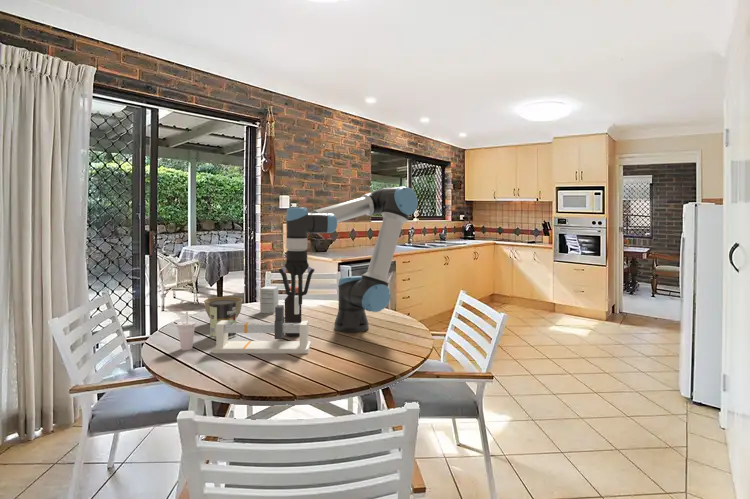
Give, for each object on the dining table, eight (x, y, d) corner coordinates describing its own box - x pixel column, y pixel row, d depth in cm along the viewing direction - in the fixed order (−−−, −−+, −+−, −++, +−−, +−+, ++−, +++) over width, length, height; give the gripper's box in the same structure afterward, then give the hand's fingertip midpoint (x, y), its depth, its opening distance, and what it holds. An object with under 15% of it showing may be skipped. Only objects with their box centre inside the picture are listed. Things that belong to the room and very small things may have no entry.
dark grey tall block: (284, 334, 162) (284, 304, 161) (281, 339, 155) (281, 308, 154) (278, 334, 162) (277, 304, 161) (274, 339, 155) (274, 308, 154)
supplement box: (265, 309, 223) (264, 285, 222) (278, 310, 222) (278, 286, 221) (259, 313, 215) (259, 288, 214) (274, 313, 215) (273, 288, 214)
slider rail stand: (311, 345, 164) (311, 319, 163) (307, 353, 154) (307, 326, 154) (221, 344, 163) (221, 318, 162) (212, 353, 153) (211, 325, 152)
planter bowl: (235, 328, 186) (235, 303, 186) (198, 327, 187) (198, 303, 186) (247, 319, 203) (247, 296, 202) (213, 318, 203) (213, 296, 202)
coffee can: (241, 333, 179) (240, 300, 178) (228, 340, 169) (227, 305, 168) (219, 331, 181) (218, 298, 180) (204, 338, 171) (204, 303, 170)
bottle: (281, 334, 178) (281, 287, 176) (294, 331, 183) (294, 285, 181) (291, 338, 173) (291, 289, 172) (304, 334, 178) (304, 287, 176)
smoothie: (184, 352, 153) (183, 314, 152) (173, 349, 157) (172, 311, 156) (199, 348, 159) (199, 310, 158) (189, 345, 162) (188, 308, 161)
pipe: (303, 331, 160) (303, 322, 160) (302, 333, 157) (302, 324, 157) (224, 330, 159) (224, 322, 159) (222, 333, 156) (222, 324, 156)
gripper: (315, 249, 160) (315, 311, 162) (280, 248, 160) (280, 311, 161) (313, 250, 153) (313, 316, 155) (276, 250, 152) (277, 315, 154)
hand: (296, 313), depth 158 cm, fingers closed
